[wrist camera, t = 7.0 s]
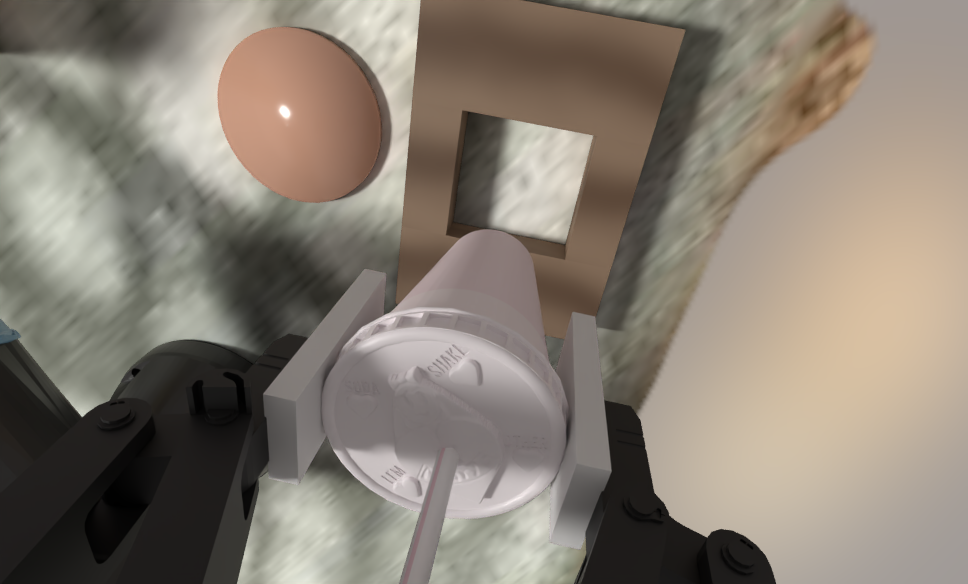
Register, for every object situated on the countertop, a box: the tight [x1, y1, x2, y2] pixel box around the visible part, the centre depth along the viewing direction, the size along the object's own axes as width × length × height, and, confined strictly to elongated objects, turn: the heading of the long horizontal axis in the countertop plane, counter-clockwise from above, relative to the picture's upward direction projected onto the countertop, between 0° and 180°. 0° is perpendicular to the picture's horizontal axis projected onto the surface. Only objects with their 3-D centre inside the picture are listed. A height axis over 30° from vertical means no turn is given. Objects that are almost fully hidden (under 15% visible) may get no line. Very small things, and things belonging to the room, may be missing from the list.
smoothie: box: [321, 229, 568, 584], centre depth 15 cm, size 6×6×14 cm
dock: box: [395, 0, 685, 339], centre depth 33 cm, size 20×14×2 cm
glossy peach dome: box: [218, 27, 382, 203], centre depth 34 cm, size 11×11×1 cm
